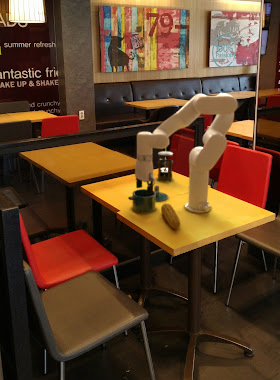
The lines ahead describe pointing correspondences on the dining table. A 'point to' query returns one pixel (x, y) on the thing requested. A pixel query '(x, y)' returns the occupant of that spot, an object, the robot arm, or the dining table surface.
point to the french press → (165, 173)
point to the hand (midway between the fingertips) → (144, 190)
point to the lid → (160, 195)
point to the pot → (143, 201)
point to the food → (170, 215)
